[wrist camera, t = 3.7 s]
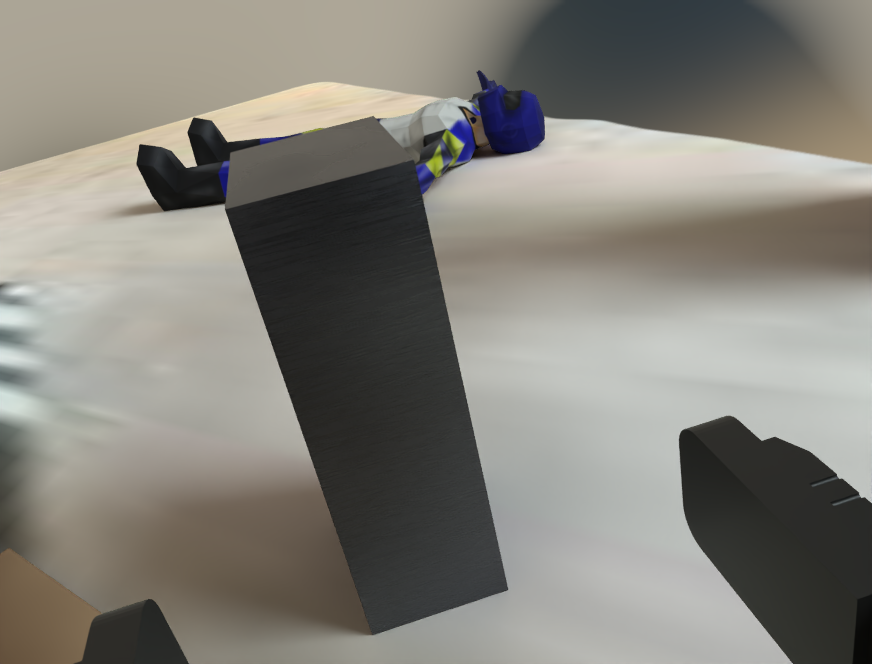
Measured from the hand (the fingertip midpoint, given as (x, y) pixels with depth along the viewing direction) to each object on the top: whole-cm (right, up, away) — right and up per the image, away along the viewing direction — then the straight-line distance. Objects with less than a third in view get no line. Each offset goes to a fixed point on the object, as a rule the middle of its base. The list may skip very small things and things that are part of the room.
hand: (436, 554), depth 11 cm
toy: (-6, +15, +48) cm, 50 cm away
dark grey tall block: (0, -3, +10) cm, 10 cm away
